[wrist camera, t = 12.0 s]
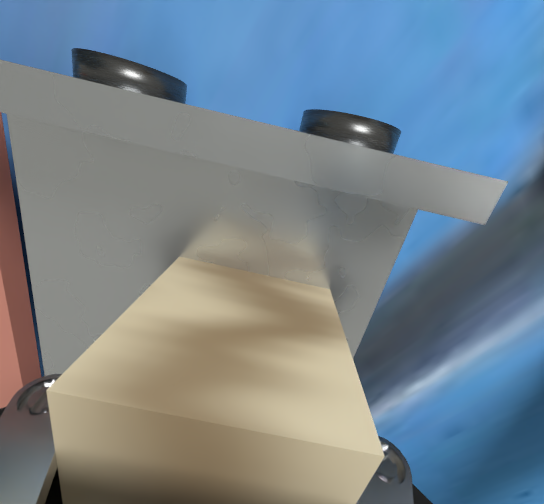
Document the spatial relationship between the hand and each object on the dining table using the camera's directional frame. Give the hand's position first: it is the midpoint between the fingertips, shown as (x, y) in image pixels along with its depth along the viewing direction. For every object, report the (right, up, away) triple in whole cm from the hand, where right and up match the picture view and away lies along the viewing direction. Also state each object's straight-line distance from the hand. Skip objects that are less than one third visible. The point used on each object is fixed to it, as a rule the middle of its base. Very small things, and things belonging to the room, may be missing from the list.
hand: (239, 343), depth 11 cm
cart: (-2, +2, +5) cm, 6 cm away
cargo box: (0, 0, +1) cm, 1 cm away
